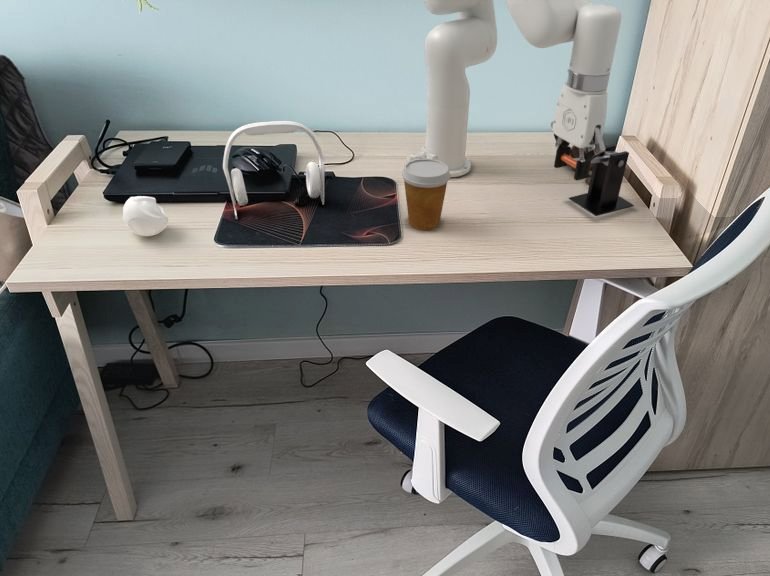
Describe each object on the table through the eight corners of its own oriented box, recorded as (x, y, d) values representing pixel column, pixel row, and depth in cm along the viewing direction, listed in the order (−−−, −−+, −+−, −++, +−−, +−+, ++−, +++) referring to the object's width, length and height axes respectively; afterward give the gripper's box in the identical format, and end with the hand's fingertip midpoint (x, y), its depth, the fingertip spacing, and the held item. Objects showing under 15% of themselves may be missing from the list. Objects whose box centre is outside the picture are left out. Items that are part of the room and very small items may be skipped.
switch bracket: (594, 220, 136) (607, 162, 127) (567, 202, 142) (578, 146, 133) (632, 209, 140) (647, 153, 132) (605, 193, 146) (618, 138, 138)
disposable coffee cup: (453, 217, 134) (456, 162, 126) (438, 238, 127) (441, 181, 119) (410, 208, 136) (411, 154, 128) (393, 228, 129) (394, 172, 121)
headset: (323, 194, 139) (318, 112, 128) (330, 209, 134) (325, 124, 123) (229, 204, 134) (214, 119, 122) (232, 220, 129) (217, 133, 117)
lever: (576, 173, 127) (579, 161, 126) (558, 162, 131) (561, 151, 129) (623, 168, 133) (626, 157, 132) (605, 158, 137) (608, 147, 136)
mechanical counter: (609, 146, 154) (570, 133, 153) (617, 162, 143) (575, 149, 142) (597, 174, 158) (559, 162, 157) (603, 192, 147) (562, 179, 146)
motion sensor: (175, 238, 122) (166, 201, 117) (134, 247, 119) (123, 210, 114) (164, 220, 127) (156, 184, 122) (124, 229, 124) (113, 192, 119)
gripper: (543, 69, 123) (530, 160, 134) (603, 97, 111) (583, 193, 123) (573, 65, 126) (558, 154, 137) (635, 91, 115) (613, 186, 126)
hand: (570, 171), depth 130 cm, fingers closed on lever, 5 cm apart
